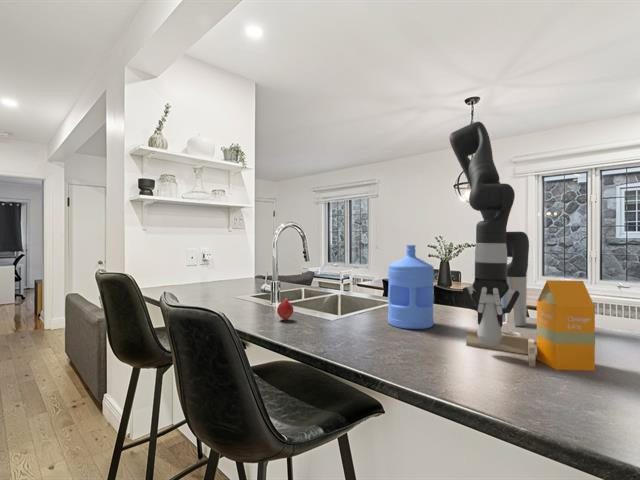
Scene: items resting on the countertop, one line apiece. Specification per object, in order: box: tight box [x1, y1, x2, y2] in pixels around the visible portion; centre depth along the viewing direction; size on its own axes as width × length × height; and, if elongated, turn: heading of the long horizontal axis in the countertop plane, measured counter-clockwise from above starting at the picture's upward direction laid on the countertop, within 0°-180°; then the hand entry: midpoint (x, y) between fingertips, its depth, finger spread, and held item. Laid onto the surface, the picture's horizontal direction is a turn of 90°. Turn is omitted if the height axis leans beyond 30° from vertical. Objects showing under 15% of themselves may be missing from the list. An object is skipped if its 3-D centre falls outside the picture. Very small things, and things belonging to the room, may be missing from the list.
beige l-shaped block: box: [465, 329, 536, 368], centre depth 91 cm, size 12×16×4 cm
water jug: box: [387, 244, 435, 330], centre depth 124 cm, size 16×16×28 cm
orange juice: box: [536, 279, 596, 371], centre depth 84 cm, size 8×9×20 cm
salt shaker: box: [477, 294, 503, 346], centre depth 90 cm, size 6×6×13 cm
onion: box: [276, 298, 294, 321], centre depth 128 cm, size 6×6×8 cm
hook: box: [501, 308, 524, 337], centre depth 105 cm, size 8×12×7 cm
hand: (490, 327), depth 90 cm, fingers closed on salt shaker, 3 cm apart
